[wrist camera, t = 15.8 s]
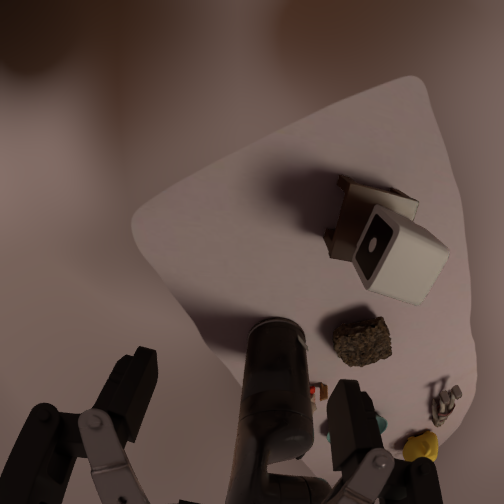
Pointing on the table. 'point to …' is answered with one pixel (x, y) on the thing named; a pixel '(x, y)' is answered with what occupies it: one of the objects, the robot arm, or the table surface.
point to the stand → (362, 214)
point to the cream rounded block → (398, 257)
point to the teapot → (421, 447)
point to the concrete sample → (362, 342)
